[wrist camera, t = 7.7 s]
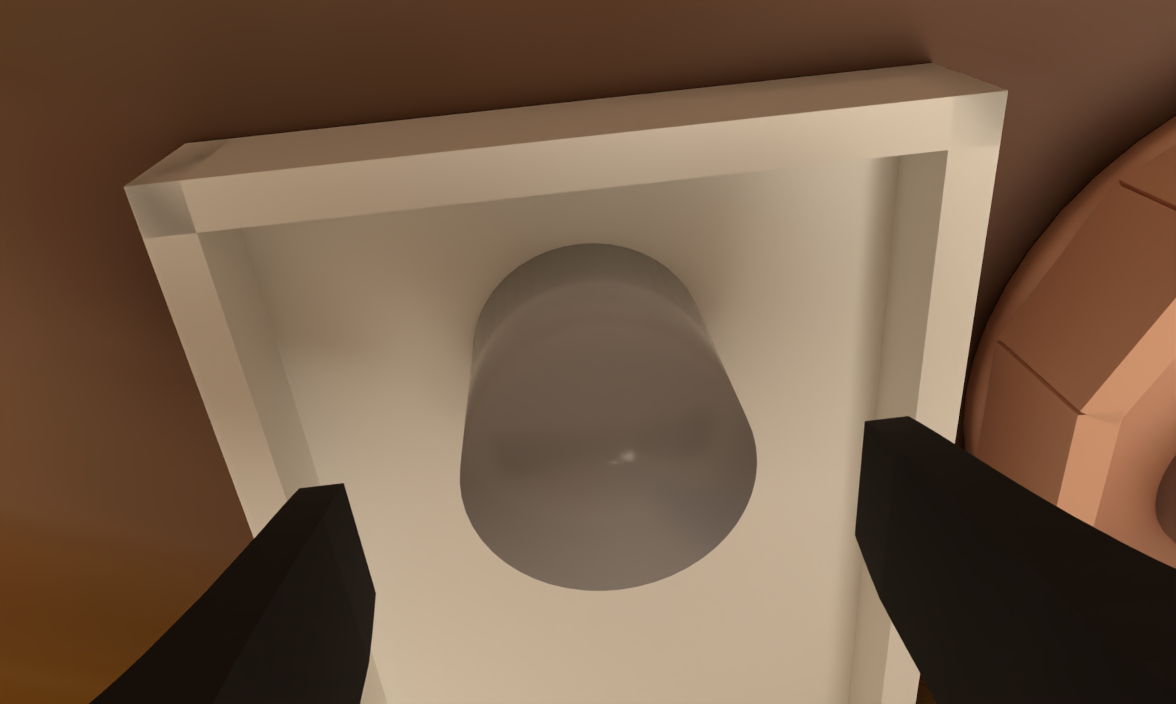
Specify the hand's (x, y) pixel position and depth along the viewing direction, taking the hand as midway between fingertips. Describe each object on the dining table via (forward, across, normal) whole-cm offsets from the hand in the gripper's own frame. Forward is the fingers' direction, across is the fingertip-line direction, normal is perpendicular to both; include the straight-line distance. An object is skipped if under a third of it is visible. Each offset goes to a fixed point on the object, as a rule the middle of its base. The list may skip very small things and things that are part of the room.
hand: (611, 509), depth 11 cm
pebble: (+5, 0, 0) cm, 5 cm away
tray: (+6, 0, +5) cm, 7 cm away
